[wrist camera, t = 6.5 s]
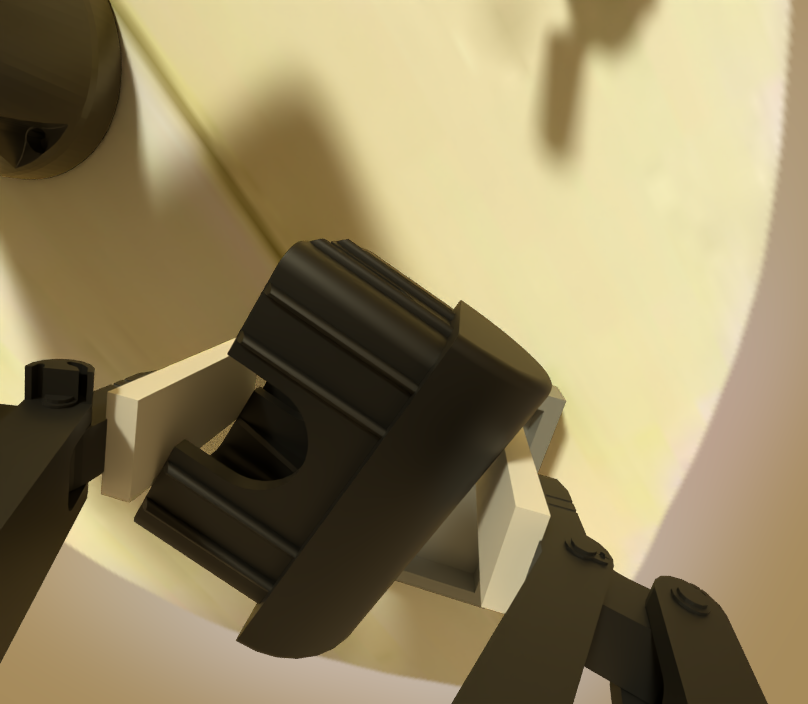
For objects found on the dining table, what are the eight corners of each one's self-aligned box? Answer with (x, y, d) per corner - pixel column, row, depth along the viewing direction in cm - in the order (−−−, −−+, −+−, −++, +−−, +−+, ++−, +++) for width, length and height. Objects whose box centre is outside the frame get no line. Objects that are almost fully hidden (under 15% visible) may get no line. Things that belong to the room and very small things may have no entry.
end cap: (378, 543, 18) (330, 710, 12) (232, 445, 18) (100, 559, 12) (534, 347, 16) (583, 422, 9) (364, 229, 15) (291, 220, 9)
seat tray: (255, 510, 35) (239, 531, 32) (295, 311, 30) (280, 317, 28) (482, 581, 34) (484, 608, 31) (557, 386, 30) (566, 400, 27)
